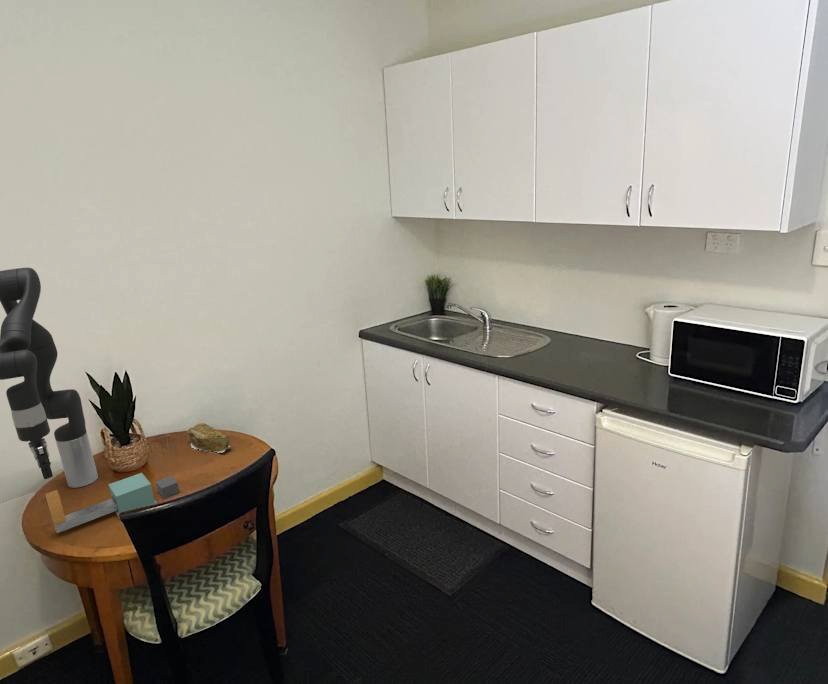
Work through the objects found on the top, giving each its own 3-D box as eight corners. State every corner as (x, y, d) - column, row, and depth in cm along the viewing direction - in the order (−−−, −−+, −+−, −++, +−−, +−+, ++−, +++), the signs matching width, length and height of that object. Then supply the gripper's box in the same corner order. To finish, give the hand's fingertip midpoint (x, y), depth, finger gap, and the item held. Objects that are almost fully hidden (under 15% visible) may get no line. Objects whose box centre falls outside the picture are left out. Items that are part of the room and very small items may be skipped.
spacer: (155, 481, 188) (170, 475, 191) (157, 492, 190) (173, 486, 193) (161, 488, 184) (177, 482, 187) (164, 499, 185) (179, 493, 188)
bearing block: (111, 505, 184) (106, 484, 181) (147, 491, 190) (143, 471, 188) (120, 519, 175) (114, 498, 173) (157, 505, 182) (153, 484, 180)
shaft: (54, 527, 171) (44, 493, 168) (133, 497, 184) (125, 465, 181) (57, 533, 168) (47, 498, 165) (137, 502, 181) (129, 470, 178)
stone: (240, 447, 217) (237, 431, 215) (217, 458, 209) (214, 442, 208) (205, 435, 229) (202, 419, 228) (182, 445, 222) (179, 429, 220)
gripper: (11, 417, 163) (27, 468, 168) (17, 433, 152) (34, 487, 158) (41, 408, 167) (56, 458, 173) (50, 423, 157) (65, 476, 162)
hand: (46, 472), depth 165 cm, fingers open, 8 cm apart
